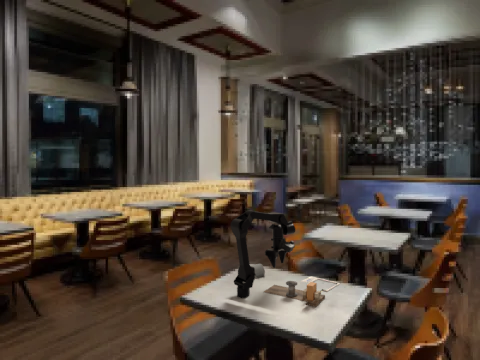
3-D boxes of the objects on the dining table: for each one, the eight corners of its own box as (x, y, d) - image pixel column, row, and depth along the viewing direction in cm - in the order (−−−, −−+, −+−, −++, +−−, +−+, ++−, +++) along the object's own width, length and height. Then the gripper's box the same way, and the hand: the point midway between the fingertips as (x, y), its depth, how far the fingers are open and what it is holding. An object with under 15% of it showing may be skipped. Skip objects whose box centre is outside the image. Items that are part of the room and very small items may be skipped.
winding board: (315, 306, 159) (315, 290, 158) (263, 294, 174) (262, 280, 174) (325, 298, 169) (324, 283, 168) (274, 287, 184) (274, 273, 184)
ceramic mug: (246, 277, 201) (246, 264, 200) (257, 274, 205) (257, 262, 205) (256, 283, 192) (256, 269, 192) (268, 280, 197) (268, 266, 196)
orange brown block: (316, 297, 166) (316, 282, 166) (312, 300, 162) (312, 286, 162) (310, 295, 168) (310, 281, 168) (306, 299, 164) (306, 285, 163)
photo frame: (310, 275, 200) (339, 282, 188) (310, 277, 200) (339, 284, 188) (297, 282, 189) (327, 290, 177) (297, 284, 189) (327, 292, 177)
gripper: (283, 241, 170) (284, 272, 171) (299, 234, 186) (299, 263, 187) (264, 239, 177) (264, 269, 177) (280, 232, 192) (281, 260, 193)
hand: (278, 265), depth 183 cm, fingers open, 9 cm apart
